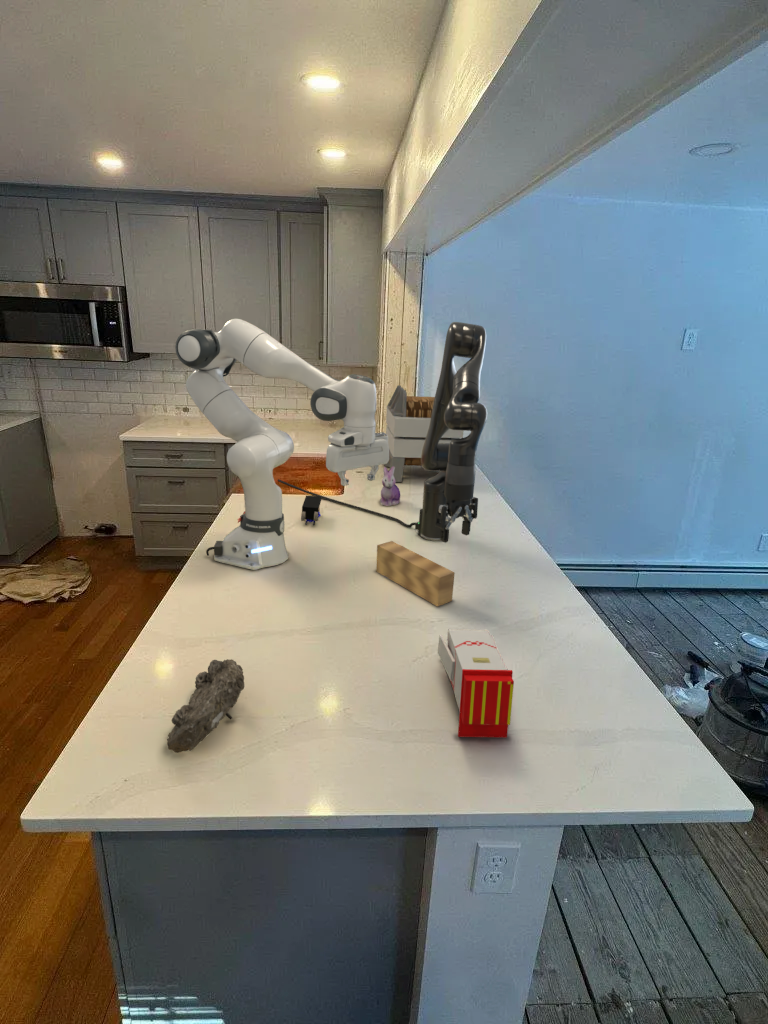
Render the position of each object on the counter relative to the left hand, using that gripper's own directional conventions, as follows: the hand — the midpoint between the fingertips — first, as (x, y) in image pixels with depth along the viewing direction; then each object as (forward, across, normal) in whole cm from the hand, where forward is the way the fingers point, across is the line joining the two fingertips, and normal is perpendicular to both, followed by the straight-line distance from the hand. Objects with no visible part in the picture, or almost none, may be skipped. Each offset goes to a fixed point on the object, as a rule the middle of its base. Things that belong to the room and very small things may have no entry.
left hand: (358, 482), depth 162 cm
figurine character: (+27, -11, -42) cm, 51 cm away
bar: (+27, -7, +18) cm, 33 cm away
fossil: (+28, +61, +36) cm, 76 cm away
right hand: (+10, -11, +29) cm, 32 cm away
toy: (+27, +16, +61) cm, 68 cm away
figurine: (+27, -49, -42) cm, 70 cm away
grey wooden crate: (+27, -90, -68) cm, 116 cm away
